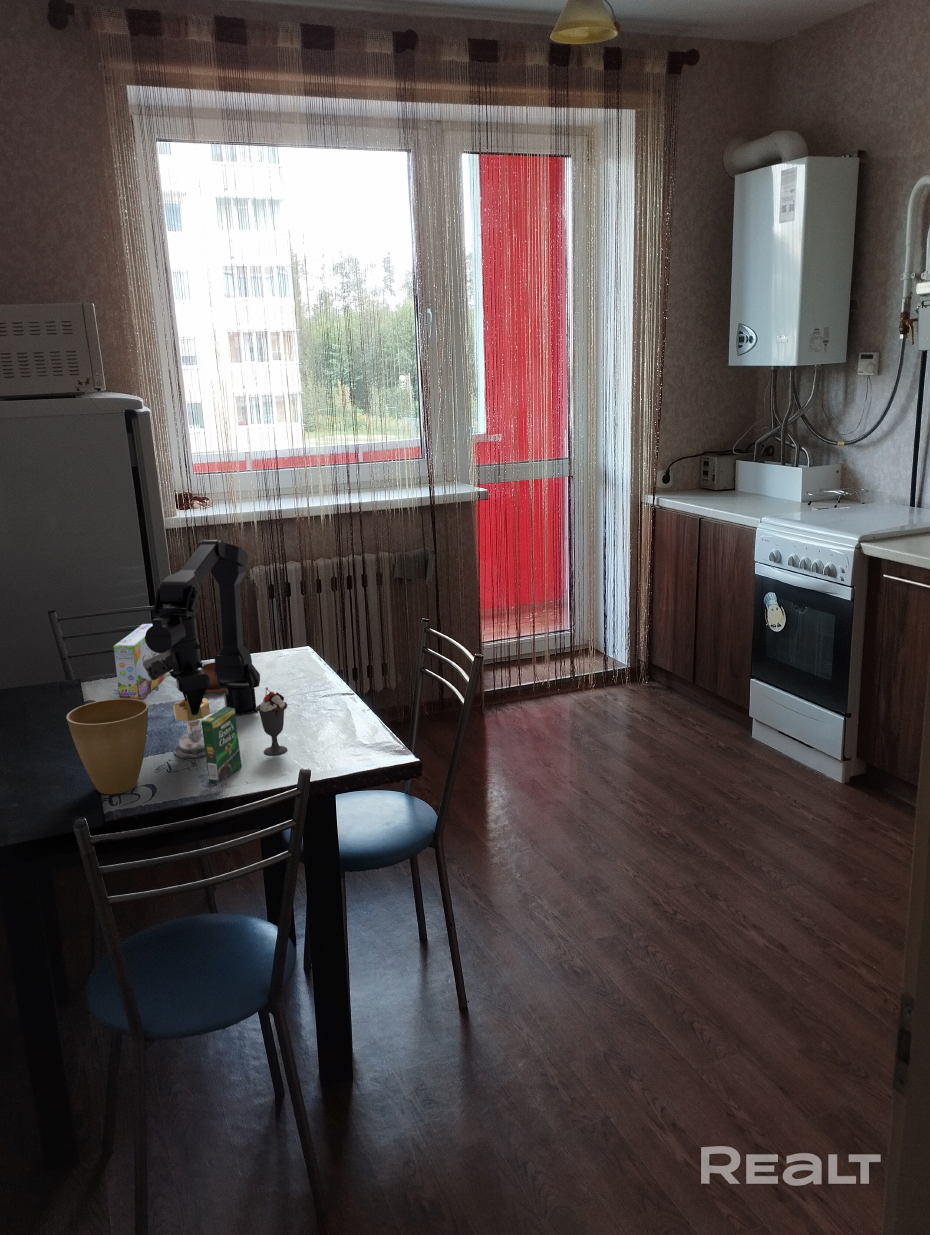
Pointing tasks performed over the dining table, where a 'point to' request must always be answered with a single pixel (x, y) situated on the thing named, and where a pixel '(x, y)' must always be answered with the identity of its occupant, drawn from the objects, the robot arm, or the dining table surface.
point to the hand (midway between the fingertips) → (192, 709)
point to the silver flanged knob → (191, 742)
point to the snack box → (134, 665)
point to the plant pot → (111, 741)
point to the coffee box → (221, 744)
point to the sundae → (273, 720)
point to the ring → (184, 711)
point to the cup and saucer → (212, 679)
